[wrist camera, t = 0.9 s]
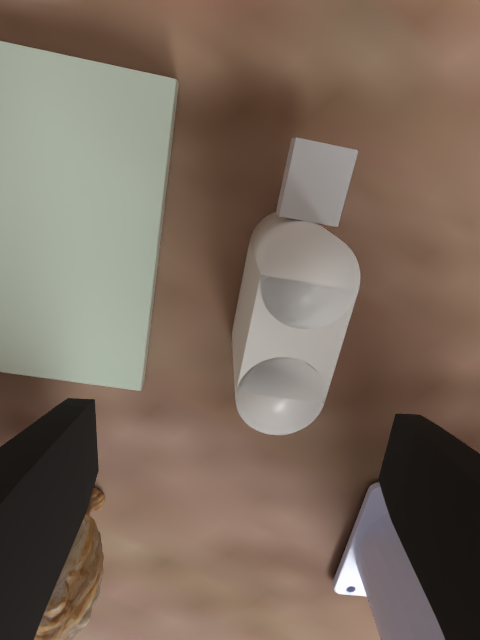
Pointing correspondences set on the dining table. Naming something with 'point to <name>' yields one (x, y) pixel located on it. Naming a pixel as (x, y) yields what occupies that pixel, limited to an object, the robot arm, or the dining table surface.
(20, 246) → the pale green rectangular panel
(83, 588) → the lion figurine
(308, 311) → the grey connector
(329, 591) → the dining table surface
